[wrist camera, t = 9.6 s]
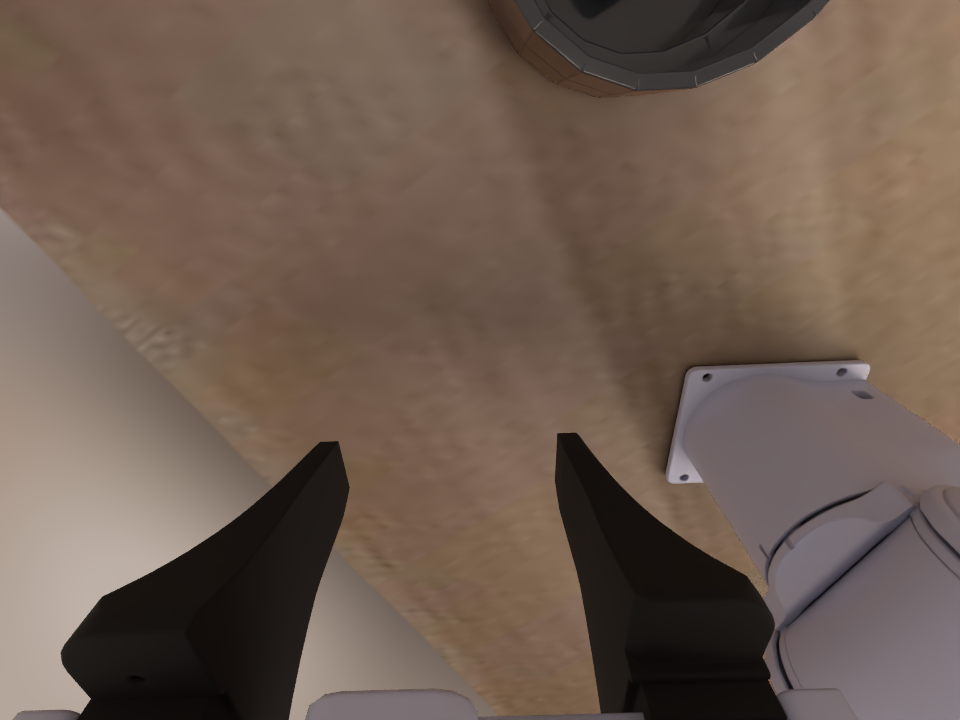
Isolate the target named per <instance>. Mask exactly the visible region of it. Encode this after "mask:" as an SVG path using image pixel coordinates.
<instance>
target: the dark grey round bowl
mask: <svg viewBox="0 0 960 720" xmlns="http://www.w3.org/2000/svg"><path fill="white" fill-rule="evenodd" d="M828 1H829V0H488V2H489V6H490V7H491V11H492V12H493V14H494V16H495V17H496V19H497V20H498V22H499V24H500V25H501V27H502V28H503V30H504V32H505V33H506V35H507V36H508V38H509V40H510V41H511V43H512V44H513V46H514V48H515V49H516V51H517V52H518V53H520V56H522V57H523V58H524V59H525V60H527V61H528V62H529V63H530V64H531V65H533V66H534V67H535V68H536V69H538V70H539V71H540V72H541V73H542V74H544V75H545V76H546V77H547V78H548V79H550V80H551V81H552V82H553V83H556V84H557V85H560V86H563V87H566V88H569V89H572V90H575V91H578V92H581V93H584V94H587V95H590V96H593V97H599V98H602V97H621V96H640V95H647V94H655V93H662V92H670V91H677V90H685V89H692V88H697V87H699V86H702V85H704V84H706V83H709V82H711V81H714V80H716V79H719V78H721V77H724V76H726V75H729V74H731V73H734V72H736V71H739V70H741V69H744V68H746V67H749V66H751V65H753V64H755V63H757V62H758V61H760V60H761V59H762V58H763V57H765V56H766V55H767V54H769V53H770V52H771V51H772V50H774V49H775V48H776V47H778V46H779V45H780V44H782V43H783V42H784V41H785V40H787V39H788V38H789V37H791V36H792V35H793V34H794V33H796V32H797V31H798V30H800V29H801V28H802V27H804V26H805V25H806V24H807V23H809V22H810V21H811V20H813V19H814V18H815V16H817V15H818V14H819V12H820V11H821V10H822V9H823V7H824V6H825V5H826V4H827V3H828Z"/></svg>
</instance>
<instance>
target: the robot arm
mask: <svg viewBox="0 0 960 720" xmlns="http://www.w3.org/2000/svg"><path fill="white" fill-rule="evenodd" d="M839 369H841V370H840V371H838V370H839ZM837 371H838V372H837ZM869 371H870V365H869V364H868V363H866V362H864V361H863V360H846V361H822V362H797V363H773V364H749V365H724V366H700V367H693V368H691V369H689V370H688V371H687V373H686V375H685V380H684V385H683V390H682V395H681V400H680V405H679V410H678V415H677V420H676V424H675V429H674V434H673V439H672V444H671V449H670V454H669V459H668V464H667V469H666V474H665V476H666V478H667V480H668V482H670V483H674V484H676V483H703V482H704V484H705V485H706V487H707V488H708V490H709V492H710V493H711V495H712V496H713V498H714V500H715V501H716V503H717V505H718V506H719V508H720V509H721V511H722V513H723V514H724V516H725V517H726V519H727V521H728V522H729V524H730V525H731V527H732V529H733V530H734V532H735V533H736V535H737V537H738V538H739V540H740V542H741V543H742V545H743V546H744V548H745V550H746V551H747V553H748V554H749V556H750V558H751V559H752V561H753V562H754V564H755V566H756V567H757V569H758V570H759V572H760V574H761V575H762V577H763V578H764V580H765V582H766V583H767V585H768V587H769V589H768V592H767V594H766V596H765V597H764V598H762V597H761V595H760V594H759V592H758V591H757V589H756V588H755V587H754V585H753V584H752V583H751V582H750V580H749V579H748V577H747V576H746V575H744V574H742V573H740V572H739V571H737V570H735V569H733V568H731V567H729V566H728V565H726V564H724V563H722V562H720V561H718V560H717V559H715V558H713V557H711V556H710V555H708V554H706V553H705V552H703V551H702V550H700V549H698V548H697V547H695V546H694V545H692V544H690V543H689V542H687V541H686V540H685V539H683V538H682V537H680V536H679V535H677V534H676V533H675V532H673V531H672V530H671V529H669V528H668V527H666V526H665V525H664V524H662V523H661V522H660V521H658V520H657V519H656V518H655V517H654V516H652V515H651V514H650V513H649V512H648V511H647V510H645V509H644V508H643V507H642V506H641V505H640V504H639V503H638V502H636V501H635V500H634V499H633V498H632V497H631V496H630V495H629V494H628V493H627V492H626V491H625V490H624V489H623V488H622V487H621V486H620V485H619V484H618V482H617V481H616V480H615V479H614V478H613V477H612V476H611V475H610V474H609V472H608V471H607V470H606V469H605V468H604V467H603V466H602V464H601V463H600V462H599V461H598V460H597V458H596V457H595V456H594V455H593V453H592V452H591V451H590V449H589V448H588V447H587V446H586V444H585V443H584V441H583V440H582V439H581V437H580V436H579V435H578V434H577V433H557V452H556V470H555V484H556V491H557V497H558V503H559V509H560V513H561V517H562V520H563V524H564V528H565V531H566V535H567V538H568V542H569V545H570V549H571V553H572V556H573V560H574V563H575V567H576V570H577V574H578V579H579V583H580V587H581V593H582V599H583V604H584V610H585V615H586V621H587V627H588V633H589V639H590V645H591V651H592V657H593V664H594V670H595V677H596V683H597V690H598V696H599V703H600V710H601V714H566V715H530V716H495V717H478V714H477V710H476V708H475V707H474V705H473V704H472V702H471V701H470V700H469V699H468V698H467V697H465V696H463V695H461V694H458V693H457V692H454V691H450V690H442V689H405V690H370V691H341V692H336V693H330V694H325V695H324V696H322V697H321V698H320V699H318V700H316V701H315V702H314V703H312V704H311V705H309V708H308V712H307V715H306V719H305V720H960V444H958V443H957V442H956V441H954V440H953V439H951V438H950V437H948V436H947V435H945V434H944V433H942V432H941V431H939V430H938V429H936V428H935V427H933V426H932V425H930V424H929V423H927V422H926V421H925V420H923V419H922V418H920V417H919V416H917V415H916V414H914V413H913V412H911V411H910V410H908V409H907V408H905V407H904V406H902V405H901V404H899V403H898V402H896V401H895V400H893V399H892V398H891V397H889V396H888V395H886V394H885V393H883V392H882V391H880V390H879V389H877V388H876V387H874V386H873V385H871V384H870V383H868V382H867V381H866V378H867V376H868V374H869ZM708 373H709V375H708V376H707V377H706V378H702V377H703V376H704V375H705V374H708ZM684 474H685V475H684ZM682 475H684V476H682ZM349 488H350V487H349V483H348V479H347V475H346V471H345V467H344V462H343V458H342V454H341V450H340V446H339V442H338V441H334V442H320V443H318V444H317V445H316V446H315V447H314V448H313V449H312V450H311V451H310V452H309V453H308V454H307V455H306V456H305V457H304V458H303V459H302V460H301V461H300V462H299V463H298V464H297V465H296V466H295V467H294V468H293V469H292V470H291V471H290V472H289V473H288V474H287V475H286V476H285V477H284V478H283V479H282V480H281V481H279V482H278V483H277V484H276V485H275V486H274V487H273V488H272V489H271V490H269V491H268V492H267V493H266V494H265V495H264V496H263V497H262V498H260V499H259V500H258V501H257V502H256V503H255V504H254V505H252V506H251V507H250V508H249V509H248V510H246V511H245V512H244V513H242V514H241V515H240V516H239V517H237V518H236V519H235V520H233V521H232V522H231V523H229V524H228V525H227V526H225V527H224V528H222V529H221V530H220V531H219V532H217V533H215V534H214V535H212V536H211V537H209V538H208V539H206V540H205V541H203V542H202V543H200V544H198V545H197V546H196V547H194V548H192V549H191V550H189V551H188V552H186V553H184V554H183V555H181V556H179V557H178V558H176V559H174V560H173V561H171V562H169V563H167V564H166V565H164V566H162V567H160V568H158V569H157V570H155V571H153V572H151V573H149V574H147V575H145V576H144V577H142V578H140V579H137V580H135V581H133V582H131V583H130V584H127V585H125V586H123V587H121V588H120V589H117V590H115V591H113V592H111V593H109V594H107V595H105V596H103V597H102V598H101V599H100V600H99V601H98V603H97V604H96V605H95V606H94V608H93V609H92V610H91V612H90V613H89V614H88V615H87V617H86V618H85V619H84V620H83V622H82V623H81V624H80V626H79V627H78V628H77V629H76V631H75V632H74V633H73V634H72V636H71V637H70V638H69V640H68V641H67V642H66V643H65V645H64V647H63V649H62V651H61V659H62V664H63V666H64V667H65V669H66V670H67V672H68V673H69V674H70V675H71V676H72V677H73V679H74V680H75V681H76V682H77V683H78V684H79V686H80V687H81V688H82V689H83V690H84V691H85V692H86V694H87V695H88V696H89V697H90V698H91V700H90V701H89V703H88V704H87V706H86V707H85V709H84V711H83V712H82V713H81V714H79V713H77V712H74V711H70V710H41V711H40V710H39V711H38V710H37V711H22V712H20V713H18V714H17V715H16V716H15V718H14V719H13V720H289V714H290V709H291V703H292V698H293V693H294V688H295V683H296V678H297V674H298V668H299V664H300V659H301V655H302V650H303V646H304V641H305V637H306V632H307V628H308V624H309V620H310V616H311V612H312V608H313V604H314V600H315V596H316V592H317V590H318V586H319V583H320V580H321V577H322V575H323V572H324V569H325V566H326V563H327V561H328V558H329V555H330V552H331V550H332V547H333V544H334V542H335V539H336V536H337V533H338V530H339V528H340V525H341V522H342V519H343V516H344V512H345V507H346V503H347V498H348V493H349ZM774 627H775V628H776V629H775V630H774ZM764 652H765V660H766V663H765V661H764V659H763V657H762V656H763V654H764ZM767 679H771V682H772V685H773V687H774V689H775V692H776V694H777V695H775V693H774V691H773V689H772V687H771V685H770V683H769V681H768V680H767Z"/></svg>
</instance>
